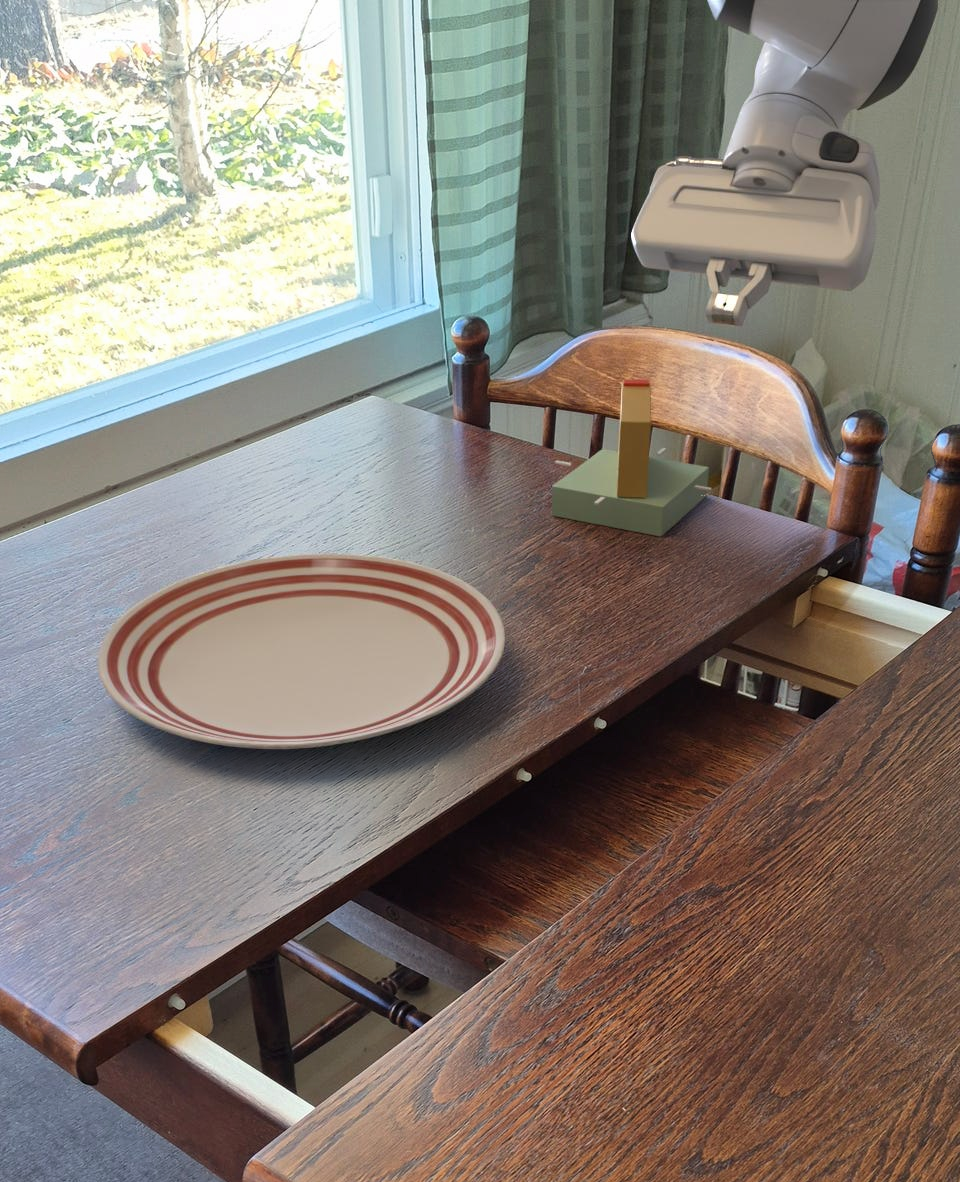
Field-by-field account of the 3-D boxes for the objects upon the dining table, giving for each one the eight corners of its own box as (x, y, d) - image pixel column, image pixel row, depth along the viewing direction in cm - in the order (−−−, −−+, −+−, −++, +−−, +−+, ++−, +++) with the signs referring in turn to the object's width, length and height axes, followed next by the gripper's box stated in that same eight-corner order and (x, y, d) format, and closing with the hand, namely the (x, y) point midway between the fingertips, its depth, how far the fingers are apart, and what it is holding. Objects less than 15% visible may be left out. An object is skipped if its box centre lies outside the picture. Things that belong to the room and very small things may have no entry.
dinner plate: (407, 817, 85) (405, 768, 83) (23, 736, 93) (11, 689, 91) (560, 627, 104) (561, 583, 102) (230, 573, 112) (225, 531, 110)
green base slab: (738, 492, 124) (741, 461, 122) (674, 551, 115) (677, 518, 113) (589, 466, 129) (590, 435, 127) (517, 520, 120) (517, 488, 118)
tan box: (646, 498, 116) (651, 418, 112) (616, 497, 117) (620, 418, 112) (645, 455, 124) (650, 379, 120) (618, 454, 124) (622, 378, 120)
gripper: (653, 129, 121) (600, 283, 121) (892, 147, 113) (835, 312, 113) (670, 180, 126) (619, 327, 126) (898, 200, 119) (844, 357, 119)
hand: (723, 320), depth 120 cm, fingers closed
